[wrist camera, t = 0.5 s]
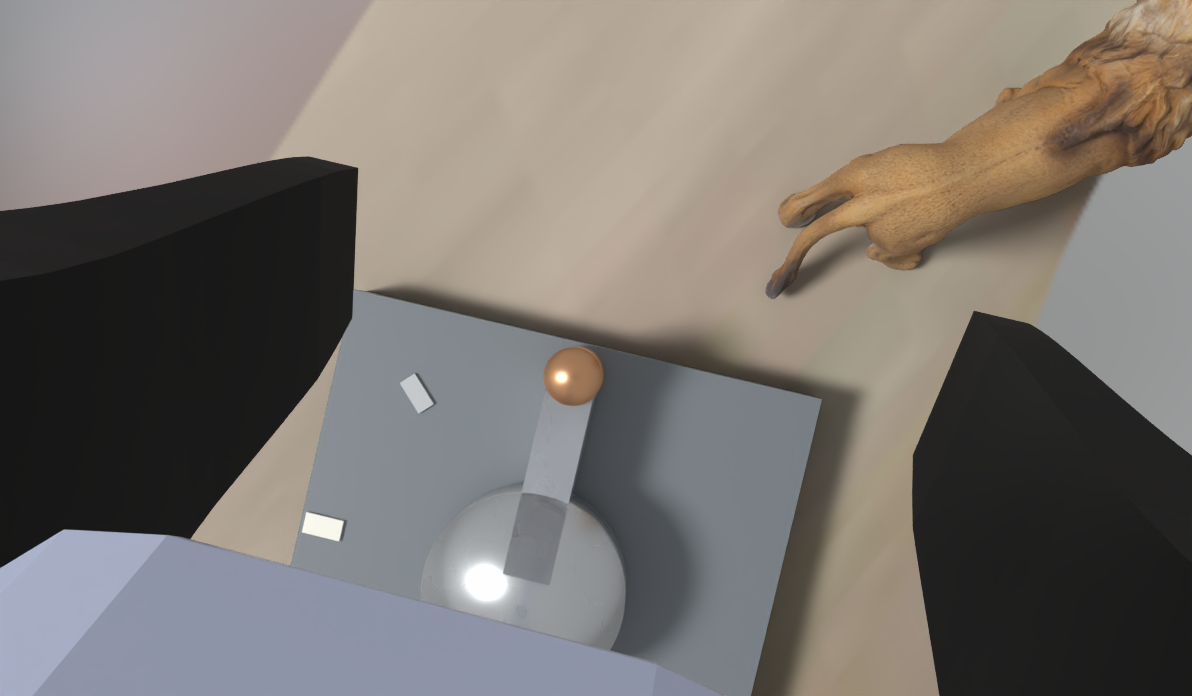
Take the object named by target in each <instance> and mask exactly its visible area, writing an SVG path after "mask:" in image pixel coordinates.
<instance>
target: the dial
mask: <svg viewBox="0 0 1192 696" xmlns="http://www.w3.org/2000/svg"><path fill="white" fill-rule="evenodd" d="M604 378H605V369H604V365H603V362H602V360H601V359H600V357H599V356H598V355H597V354H596V353H595V352H594V351H592V350H591V349H589V348H586V347H582V346H573V347H569V348H565V349H562V350H560V351H558V352H556V353H555V354H554V355H553V356H552V357H551V358H550V359H549V360H548V362H547V364H546V366H545V370H544V383H545V387H546V389H545V393H544V398H543V402H542V406H541V411H540V415H539V419H538V424H537V428H536V432H535V436H534V441H533V445H532V449H531V454H530V458H529V462H528V467H527V471H526V475H525V480H524V483H519V484H512V485H507V486H503V487H500V488H497V489H494V490H492V491H489V492H487V493H485V494H484V495H482V496H480V497H478V498H477V499H475V500H474V501H473V502H471V503H470V504H468V505H467V506H466V507H465V508H464V509H463V510H462V511H461V512H460V513H459V514H458V515H457V516H456V517H455V518H454V519H453V520H452V521H451V522H450V523H449V524H448V525H447V526H446V527H445V528H444V530H443V531H442V532H441V533H440V534H439V536H438V538H437V539H436V541H435V542H434V544H433V546H432V548H431V550H430V552H429V554H428V557H427V559H426V562H425V566H424V569H423V574H422V580H421V595H420V598H421V601H425V602H429V603H433V604H436V605H440V606H444V607H448V608H452V609H455V610H459V611H463V612H467V613H470V614H474V615H478V616H482V617H486V618H489V619H493V620H497V621H501V622H504V623H508V624H512V625H516V626H520V627H523V628H527V629H531V630H535V631H538V632H542V633H546V634H550V635H554V636H557V637H561V638H565V639H569V640H572V641H576V642H580V643H584V644H588V645H591V646H595V647H599V648H603V649H606V650H610V649H611V648H612V646H613V644H614V642H615V640H616V638H617V636H618V633H619V630H620V627H621V624H622V620H623V615H624V609H625V597H626V568H625V562H624V558H623V553H622V550H621V548H620V545H619V542H618V540H617V538H616V536H615V534H614V532H613V530H612V529H611V527H610V526H609V525H608V523H607V522H606V520H605V519H604V518H603V517H602V516H601V515H600V514H599V512H598V511H597V510H596V509H595V508H593V507H592V506H591V505H590V504H589V503H587V502H586V501H585V500H583V499H581V498H580V497H578V496H577V495H575V494H573V491H574V487H575V483H576V479H577V474H578V470H579V466H580V462H581V457H582V453H583V449H584V444H585V440H586V436H587V432H588V427H589V423H590V419H591V414H592V410H593V406H594V402H595V397H596V394H597V393H598V391H599V390H600V388H601V387H602V385H603V382H604Z"/></svg>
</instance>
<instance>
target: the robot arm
mask: <svg viewBox="0 0 1192 696" xmlns="http://www.w3.org/2000/svg"><path fill="white" fill-rule="evenodd" d="M357 185H358V168H356V167H352V166H347V165H343V164H339V163H334V162H330V161H326V160H321V159H317V158H313V157H292V158H284V159H278V160H272V161H267V162H261V163H257V164H252V165H247V166H242V167H238V168H234V169H229V170H224V171H220V172H216V173H211V174H207V175H203V176H198V177H194V178H190V179H185V180H181V181H176V182H172V183H167V184H163V185H158V186H152V187H148V188H142V189H137V190H132V191H127V192H121V193H116V194H111V195H106V196H101V197H96V198H91V199H86V200H81V201H74V202H67V203H62V204H54V205H47V206H41V207H33V208H25V209H16V210H7V211H0V696H725V695H723V694H721V693H719V692H717V691H715V690H713V689H711V688H708V687H706V686H704V685H702V684H700V683H698V682H696V681H694V680H692V679H689V678H687V677H685V676H683V675H681V674H679V673H677V672H675V671H673V670H670V669H668V668H666V667H664V666H662V665H660V664H658V663H656V662H652V661H648V660H644V659H641V658H637V657H633V656H629V655H625V654H622V653H618V652H614V651H610V650H606V649H603V648H599V647H595V646H591V645H588V644H584V643H580V642H576V641H572V640H569V639H565V638H561V637H557V636H554V635H550V634H546V633H542V632H538V631H535V630H531V629H527V628H523V627H520V626H516V625H512V624H508V623H504V622H501V621H497V620H493V619H489V618H486V617H482V616H478V615H474V614H470V613H467V612H463V611H459V610H455V609H452V608H448V607H444V606H440V605H436V604H433V603H429V602H425V601H421V600H418V599H414V598H410V597H406V596H402V595H399V594H395V593H391V592H387V591H384V590H380V589H376V588H372V587H368V586H365V585H361V584H357V583H353V582H350V581H346V580H342V579H338V578H334V577H331V576H327V575H323V574H319V573H315V572H312V571H308V570H304V569H300V568H297V567H293V566H289V565H285V564H281V563H278V562H274V561H270V560H266V559H263V558H259V557H255V556H251V555H247V554H244V553H240V552H236V551H232V550H229V549H225V548H221V547H217V546H213V545H210V544H206V543H202V542H198V541H195V540H191V537H192V536H193V534H194V533H195V531H196V530H197V529H198V527H199V526H200V525H201V523H202V522H203V521H204V519H205V518H206V517H207V515H208V514H209V513H210V511H211V510H212V509H213V507H214V506H215V505H216V503H217V502H218V501H219V500H220V498H221V497H222V496H223V495H224V494H225V492H226V491H227V490H228V489H229V487H230V486H231V485H232V484H233V483H234V481H235V480H236V479H237V478H238V477H239V475H240V474H241V473H242V472H243V470H244V469H245V468H246V467H247V466H248V464H249V463H250V462H251V461H252V459H253V458H254V457H255V456H256V455H257V453H258V452H259V451H260V450H261V449H262V447H263V446H264V445H265V444H266V442H267V441H268V440H269V439H270V438H271V436H272V435H273V434H274V433H275V431H276V430H277V429H278V428H279V427H280V425H281V424H282V423H283V422H284V420H285V419H286V418H287V417H288V415H289V414H290V413H291V412H292V411H293V409H294V408H295V407H296V406H297V404H298V403H299V402H300V401H301V399H302V398H303V397H304V396H305V394H306V393H307V392H308V390H309V389H310V388H311V387H312V385H313V384H314V383H315V381H316V380H317V379H318V377H319V376H320V374H321V372H322V371H323V369H324V367H325V366H326V364H327V362H328V361H329V359H330V357H331V356H332V354H333V352H334V351H335V349H336V347H337V345H338V343H339V342H340V340H341V338H342V336H343V334H344V333H345V331H346V329H347V327H348V325H349V323H350V322H351V320H352V315H353V289H354V263H355V237H356V211H357ZM912 507H913V532H914V539H915V546H916V553H917V559H918V566H919V572H920V579H921V585H922V591H923V597H924V604H925V610H926V616H927V622H928V628H929V634H930V640H931V646H932V652H933V658H934V665H935V671H936V677H937V683H938V689H939V696H1192V455H1190V454H1189V453H1188V452H1186V451H1185V450H1184V449H1183V448H1181V447H1180V446H1179V445H1177V444H1176V443H1175V442H1174V441H1172V440H1171V439H1170V438H1169V437H1168V436H1166V435H1165V434H1164V433H1163V432H1161V431H1160V430H1159V429H1158V428H1157V427H1155V426H1154V425H1153V424H1152V423H1151V422H1149V421H1148V420H1147V419H1146V418H1145V417H1143V416H1142V415H1141V414H1140V413H1139V412H1138V411H1136V410H1135V409H1134V408H1133V407H1132V406H1131V405H1129V404H1128V403H1127V402H1126V401H1125V400H1123V399H1122V398H1121V397H1120V396H1119V395H1118V394H1117V393H1115V392H1114V391H1113V390H1112V389H1111V388H1109V387H1108V386H1107V385H1106V384H1105V383H1104V382H1103V381H1102V380H1100V379H1099V378H1098V377H1097V376H1096V375H1095V374H1093V373H1092V372H1091V371H1090V370H1089V369H1088V368H1086V367H1085V366H1084V365H1083V364H1082V363H1081V362H1080V361H1078V360H1077V359H1076V358H1075V357H1074V356H1072V355H1071V354H1070V353H1069V352H1067V351H1066V350H1065V349H1064V348H1063V347H1062V346H1060V345H1059V344H1058V343H1057V342H1055V341H1054V340H1053V339H1052V338H1050V337H1049V336H1048V335H1046V334H1045V333H1043V332H1042V331H1040V330H1039V329H1037V328H1036V327H1034V326H1032V325H1031V324H1028V323H1024V322H1020V321H1015V320H1011V319H1007V318H1002V317H998V316H994V315H989V314H985V313H981V312H977V311H974V312H973V315H972V317H971V319H970V322H969V324H968V326H967V329H966V331H965V333H964V336H963V338H962V341H961V343H960V345H959V348H958V350H957V352H956V355H955V357H954V359H953V362H952V364H951V366H950V369H949V371H948V374H947V376H946V378H945V381H944V383H943V385H942V388H941V390H940V392H939V395H938V397H937V399H936V402H935V404H934V407H933V409H932V411H931V414H930V416H929V418H928V421H927V423H926V425H925V428H924V430H923V433H922V435H921V437H920V440H919V442H918V444H917V447H916V449H915V451H914V454H913V484H912Z"/></svg>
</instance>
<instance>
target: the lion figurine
mask: <svg viewBox="0 0 1192 696" xmlns="http://www.w3.org/2000/svg"><path fill="white" fill-rule="evenodd" d="M1191 136H1192V0H1137V3H1136V4H1134V5H1133V6H1131V7H1129V8H1126V9H1124V10H1122V11H1120V12H1118V13H1117V14H1115V15H1114V16H1113V18H1112V19H1111V20H1110V21H1109V22H1108V23H1107V24H1106V27H1105V30H1104V31H1103V32H1102V33H1100V34H1098V35H1097V36H1095V37H1093V38H1092V39H1090V40H1088V41H1085V42H1084V43H1082V44H1081V45H1080V46H1078V47H1077V48H1076V49H1074V50H1073V51H1072V52H1071V53H1070V55H1069V56H1068V57H1067V58H1066V60H1065V61H1064V62H1063V63H1062V64H1060V65H1058V66H1056V67H1054V68H1051V69H1049V70H1047V71H1046V72H1045V73H1044V74H1043V75H1041V76H1039V77H1037V78H1035V79H1033V80H1031V81H1030V82H1028V83H1027V84H1025V85H1024V86H1023V88H1014V89H1012V88H1006V89H1004V90H1003V91H1002V92H1001V94H1000V96H999V97H998V99H997V102H996V105H995V108H993V109H991V110H989V111H988V112H986V113H985V114H983V115H982V116H980V117H979V118H977V119H976V120H974V121H973V122H971V123H970V124H968V125H967V126H965V127H964V128H962V129H961V130H960V131H958V132H957V133H955V134H954V135H952V136H951V137H950V138H949V139H947V140H946V141H945V142H944V143H938V144H900V145H897V146H894V147H890V148H887V149H885V150H882V151H879V152H876V153H874V154H867V155H862V156H860V157H858V158H856V159H854V160H852V161H851V162H850V163H849V164H848V165H846V166H844V167H843V168H841V169H840V170H838V171H837V172H835V173H834V174H832V175H831V176H829V177H828V178H826V179H825V180H824V181H822V182H821V183H819V184H817V185H815V186H813V187H811V188H809V189H808V190H806V191H803V192H800V193H797V194H793V195H791V196H789V197H788V198H787V199H786V200H784V201H783V202H782V203H781V205H780V207H779V212H778V213H779V217H780V220H781V222H782V223H783V225H784V226H786V227H788V228H798V227H801V226H804V225H806V224H808V223H809V222H811V221H812V220H813V219H814V217H815V216H816V211H817V210H819V209H820V208H822V207H823V206H825V205H827V204H828V203H830V202H832V201H835V200H841V199H850V200H849V201H847V202H845V203H844V204H842V205H841V206H839V207H837V208H836V209H834V210H832V211H830V212H828V213H827V214H825V215H823V216H821V217H820V218H818V219H817V220H815V221H814V222H813V223H811V224H810V225H809V226H808V227H806V228H805V229H804V230H803V231H802V232H801V233H800V234H799V235H798V237H797V238H796V240H795V242H794V244H793V246H792V248H791V250H790V252H789V254H788V256H787V258H786V261H785V262H784V264H783V265H782V267H781V268H779V269H778V270H777V271H775V272H774V273H773V274H772V278H771V280H770V281H769V283H768V284H767V287H766V294H767V296H768V297H769V298H771V299H774V298H776V297H777V296H778V295H779V294H780V293H781V292H782V291H783V290H784V289H785V288H786V287H787V286H789V285H790V284H791V283H792V282H793V281H794V280H795V279H796V276H797V273H798V270H799V267H800V265H801V263H802V261H803V259H804V257H805V255H806V253H807V252H808V251H809V249H810V248H811V247H812V246H813V245H814V244H815V243H817V242H818V241H819V240H820V239H822V238H823V237H825V236H826V235H828V234H831V233H833V232H836V231H839V230H842V229H845V228H848V227H852V226H857V227H862V226H864V227H866V230H867V234H868V237H869V238H870V240H871V241H872V244H871V245H870V246H869V247H868V248H867V250H866V253H867V256H868V257H869V258H870V259H872V260H877V261H880V262H883V263H884V264H885V265H887V266H888V267H890V268H893V269H898V270H910V269H913V268H915V267H916V266H917V265H918V263H919V262H920V260H921V259H922V249H924V248H926V247H927V246H930V245H933V244H935V243H938V242H939V241H940V240H942V239H943V238H944V237H945V236H946V235H947V233H948V232H950V231H952V230H953V229H955V228H956V227H958V226H959V225H961V224H962V223H963V222H965V221H966V220H968V219H970V218H971V217H973V216H975V215H977V214H980V213H986V212H992V211H997V210H1002V209H1005V208H1009V207H1012V206H1016V205H1020V204H1023V203H1027V202H1031V201H1035V200H1039V199H1042V198H1045V197H1047V196H1050V195H1053V194H1055V193H1058V192H1060V191H1062V190H1064V189H1066V188H1068V187H1070V186H1072V185H1074V184H1076V183H1077V182H1079V181H1081V180H1083V179H1084V178H1086V177H1087V176H1096V175H1100V174H1105V173H1108V172H1111V171H1113V170H1115V169H1118V168H1119V167H1122V166H1129V167H1133V166H1139V165H1145V164H1151V163H1154V162H1155V161H1156V160H1157V159H1159V158H1161V157H1164V156H1166V155H1168V154H1169V153H1170V152H1171V151H1172V150H1177V149H1179V148H1180V147H1181V146H1182V145H1183V143H1184V141H1185V139H1186V138H1189V137H1191Z"/></svg>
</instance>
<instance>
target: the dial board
mask: <svg viewBox="0 0 1192 696" xmlns="http://www.w3.org/2000/svg"><path fill="white" fill-rule="evenodd" d="M573 346H582V347H586V348H589V349H591V350H592V351H594V352H595V353H596V354H597V355H598V356H599V357H600V359H601V360H602V362H603V365H604V369H605V378H604V382H603V385H602V387H601V388H600V390H599V391H598V393H597V394H596V397H595V402H594V406H593V410H592V414H591V419H590V423H589V427H588V432H587V436H586V440H585V444H584V449H583V453H582V457H581V462H580V466H579V470H578V474H577V479H576V483H575V487H574V491H573V494H575V495H577V496H578V497H580V498H581V499H583V500H585V501H586V502H587V503H589V504H590V505H591V506H592V507H593V508H595V509H596V510H597V511H598V512H599V514H600V515H601V516H602V517H603V518H604V519H605V520H606V522H607V523H608V525H609V526H610V527H611V529H612V530H613V532H614V534H615V536H616V538H617V540H618V542H619V545H620V548H621V550H622V553H623V558H624V562H625V568H626V597H625V609H624V615H623V620H622V624H621V627H620V630H619V633H618V636H617V638H616V640H615V642H614V644H613V646H612V648H611V649H610V651H614V652H618V653H622V654H625V655H629V656H633V657H637V658H641V659H644V660H648V661H652V662H656V663H658V664H660V665H662V666H664V667H666V668H668V669H670V670H673V671H675V672H677V673H679V674H681V675H683V676H685V677H687V678H689V679H692V680H694V681H696V682H698V683H700V684H702V685H704V686H706V687H708V688H711V689H713V690H715V691H717V692H719V693H721V694H723V695H725V696H751V693H752V689H753V685H754V680H755V676H756V672H757V668H758V664H759V660H760V656H761V651H762V647H763V643H764V639H765V635H766V631H767V626H768V622H769V618H770V614H771V610H772V606H773V601H774V597H775V593H776V589H777V585H778V581H779V576H780V572H781V568H782V564H783V560H784V556H785V551H786V547H787V543H788V539H789V535H790V531H791V527H792V522H793V518H794V514H795V510H796V506H797V502H798V497H799V493H800V489H801V485H802V481H803V477H804V472H805V468H806V464H807V460H808V456H809V452H810V447H811V443H812V439H813V435H814V431H815V427H816V422H817V418H818V414H819V410H820V406H821V402H822V399H820V398H817V397H815V396H811V395H807V394H802V393H798V392H794V391H789V390H785V389H781V388H777V387H772V386H768V385H764V384H760V383H755V382H751V381H747V380H743V379H738V378H734V377H730V376H725V375H721V374H717V373H713V372H708V371H704V370H700V369H696V368H691V367H687V366H683V365H679V364H674V363H670V362H666V361H661V360H657V359H653V358H649V357H644V356H640V355H636V354H632V353H627V352H623V351H619V350H615V349H610V348H606V347H602V346H597V345H593V344H589V343H585V342H580V341H576V340H572V339H568V338H563V337H559V336H555V335H551V334H546V333H542V332H538V331H533V330H529V329H525V328H521V327H516V326H512V325H508V324H504V323H499V322H495V321H491V320H487V319H482V318H478V317H474V316H469V315H465V314H461V313H457V312H452V311H448V310H444V309H440V308H435V307H431V306H427V305H423V304H418V303H414V302H410V301H405V300H401V299H397V298H393V297H388V296H384V295H380V294H376V293H371V292H367V291H361V290H354V289H353V315H352V320H351V322H350V323H349V325H348V327H347V329H346V331H345V333H344V334H343V336H342V340H341V345H340V349H339V354H338V358H337V363H336V367H335V371H334V376H333V380H332V385H331V389H330V394H329V398H328V402H327V407H326V411H325V416H324V420H323V425H322V429H321V433H320V438H319V442H318V447H317V451H316V456H315V460H314V464H313V469H312V473H311V478H310V482H309V487H308V491H307V495H306V500H305V504H304V509H303V513H302V518H301V522H300V526H299V531H298V535H297V540H296V544H295V549H294V553H293V558H292V562H291V566H293V567H297V568H300V569H304V570H308V571H312V572H315V573H319V574H323V575H327V576H331V577H334V578H338V579H342V580H346V581H350V582H353V583H357V584H361V585H365V586H368V587H372V588H376V589H380V590H384V591H387V592H391V593H395V594H399V595H402V596H406V597H410V598H414V599H418V600H421V598H420V595H421V580H422V574H423V569H424V566H425V562H426V559H427V557H428V554H429V552H430V550H431V548H432V546H433V544H434V542H435V541H436V539H437V538H438V536H439V534H440V533H441V532H442V531H443V530H444V528H445V527H446V526H447V525H448V524H449V523H450V522H451V521H452V520H453V519H454V518H455V517H456V516H457V515H458V514H459V513H460V512H461V511H462V510H463V509H464V508H465V507H466V506H467V505H468V504H470V503H471V502H473V501H474V500H475V499H477V498H478V497H480V496H482V495H484V494H485V493H487V492H489V491H492V490H494V489H497V488H500V487H503V486H507V485H512V484H519V483H524V480H525V475H526V471H527V467H528V462H529V458H530V454H531V449H532V445H533V441H534V436H535V432H536V428H537V424H538V419H539V415H540V411H541V406H542V402H543V398H544V393H545V389H546V387H545V383H544V370H545V366H546V364H547V362H548V360H549V359H550V358H551V357H552V356H553V355H554V354H555V353H556V352H558V351H560V350H562V349H565V348H569V347H573Z"/></svg>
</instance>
